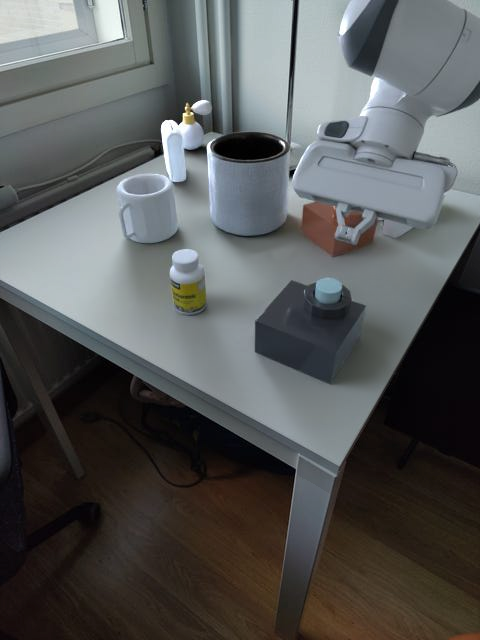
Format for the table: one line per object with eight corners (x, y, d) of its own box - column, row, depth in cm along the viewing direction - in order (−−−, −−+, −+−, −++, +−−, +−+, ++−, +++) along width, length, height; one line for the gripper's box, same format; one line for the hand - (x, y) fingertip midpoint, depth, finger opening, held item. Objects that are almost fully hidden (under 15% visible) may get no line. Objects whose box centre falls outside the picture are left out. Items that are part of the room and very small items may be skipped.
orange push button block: (376, 244, 89) (384, 206, 84) (335, 259, 85) (341, 221, 80) (340, 220, 96) (345, 184, 91) (300, 233, 93) (303, 196, 87)
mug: (146, 213, 100) (139, 168, 93) (188, 224, 96) (183, 178, 89) (105, 243, 91) (93, 196, 84) (149, 257, 87) (140, 208, 80)
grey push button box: (361, 334, 70) (370, 293, 65) (330, 384, 63) (337, 342, 58) (290, 308, 75) (293, 268, 70) (254, 352, 68) (254, 310, 62)
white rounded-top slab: (164, 166, 118) (158, 116, 110) (181, 164, 119) (176, 114, 111) (170, 183, 110) (164, 131, 102) (188, 181, 111) (183, 129, 103)
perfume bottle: (172, 146, 128) (167, 100, 120) (203, 139, 132) (199, 94, 124) (185, 155, 123) (181, 108, 115) (216, 147, 127) (214, 101, 119)
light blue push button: (344, 293, 66) (346, 282, 64) (334, 307, 63) (336, 296, 62) (321, 286, 67) (322, 274, 66) (310, 299, 65) (311, 287, 63)
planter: (303, 221, 96) (309, 147, 86) (241, 248, 89) (240, 170, 78) (254, 194, 106) (255, 124, 95) (196, 216, 98) (189, 143, 88)
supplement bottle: (168, 311, 75) (160, 261, 68) (183, 292, 79) (177, 243, 72) (198, 319, 73) (193, 269, 67) (212, 299, 77) (208, 249, 71)
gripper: (461, 171, 61) (422, 269, 61) (320, 143, 70) (286, 229, 70) (464, 149, 55) (421, 257, 56) (309, 121, 64) (273, 215, 64)
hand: (345, 241), depth 63 cm, fingers closed
